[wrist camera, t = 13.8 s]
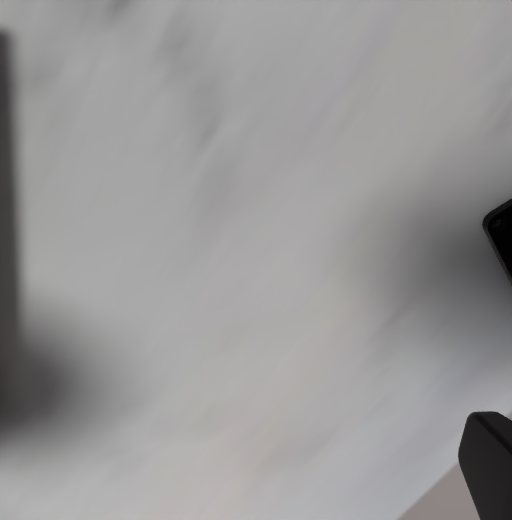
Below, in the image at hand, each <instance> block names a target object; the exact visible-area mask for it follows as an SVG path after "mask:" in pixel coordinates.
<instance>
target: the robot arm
mask: <svg viewBox="0 0 512 520" xmlns="http://www.w3.org/2000/svg"><path fill="white" fill-rule="evenodd" d="M499 219H500V224H499V225H498V226H497V227H495V228H494V223H495V222H496V221H497V220H499ZM482 226H483V229H484V231H485V233H486V235H487V237H488V239H489V241H490V243H491V245H492V247H493V249H494V251H495V253H496V255H497V257H498V259H499V261H500V263H501V265H502V267H503V269H504V270H505V272H506V274H507V276H508V278H509V280H510V282H511V284H512V199H510V200H509V201H507V202H505V203H504V204H502V205H501V206H499V207H497V208H496V209H494V210H493V211H491V212H489V213H488V214H487V215H486V216H485V218H484V220H483V223H482ZM458 458H459V464H460V467H461V470H462V472H463V475H464V478H465V481H466V483H467V486H468V488H469V491H470V494H471V496H472V499H473V502H474V504H475V507H476V509H477V512H478V515H479V517H480V520H512V421H511V420H510V419H508V418H507V417H505V416H503V415H502V414H500V413H498V412H493V411H488V412H473V413H471V414H470V415H469V416H468V418H467V421H466V424H465V428H464V432H463V435H462V439H461V443H460V446H459V451H458Z"/></svg>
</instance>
